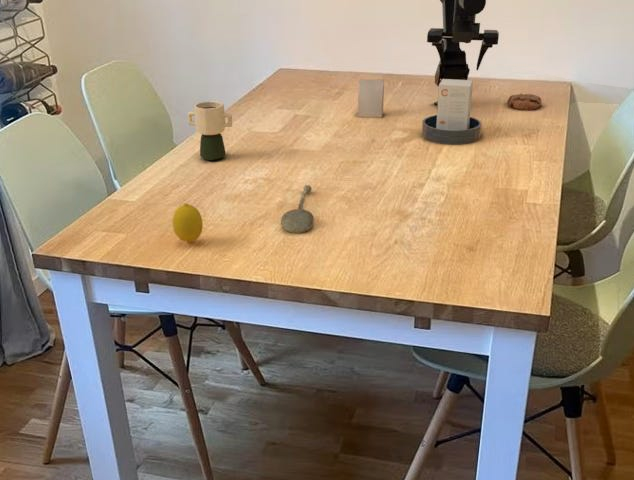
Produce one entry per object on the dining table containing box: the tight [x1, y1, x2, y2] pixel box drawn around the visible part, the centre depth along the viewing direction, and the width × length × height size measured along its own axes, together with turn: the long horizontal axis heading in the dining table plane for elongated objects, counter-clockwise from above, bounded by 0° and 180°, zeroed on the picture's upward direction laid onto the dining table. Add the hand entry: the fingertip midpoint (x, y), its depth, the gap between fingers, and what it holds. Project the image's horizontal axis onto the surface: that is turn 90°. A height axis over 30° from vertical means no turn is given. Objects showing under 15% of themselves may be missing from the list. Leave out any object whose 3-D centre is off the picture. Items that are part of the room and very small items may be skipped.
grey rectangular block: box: [357, 78, 385, 118], centre depth 217 cm, size 4×7×10 cm, turn 80°
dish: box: [421, 114, 483, 145], centre depth 202 cm, size 15×15×4 cm
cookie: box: [506, 93, 542, 111], centre depth 226 cm, size 10×11×3 cm
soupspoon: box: [280, 184, 315, 234], centre depth 159 cm, size 22×3×7 cm
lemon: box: [172, 203, 204, 244], centre depth 145 cm, size 6×6×8 cm
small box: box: [436, 79, 474, 130], centre depth 200 cm, size 8×6×13 cm
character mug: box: [187, 100, 233, 161], centre depth 186 cm, size 11×7×13 cm, turn 80°
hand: (460, 69), depth 211 cm, fingers open, 9 cm apart
